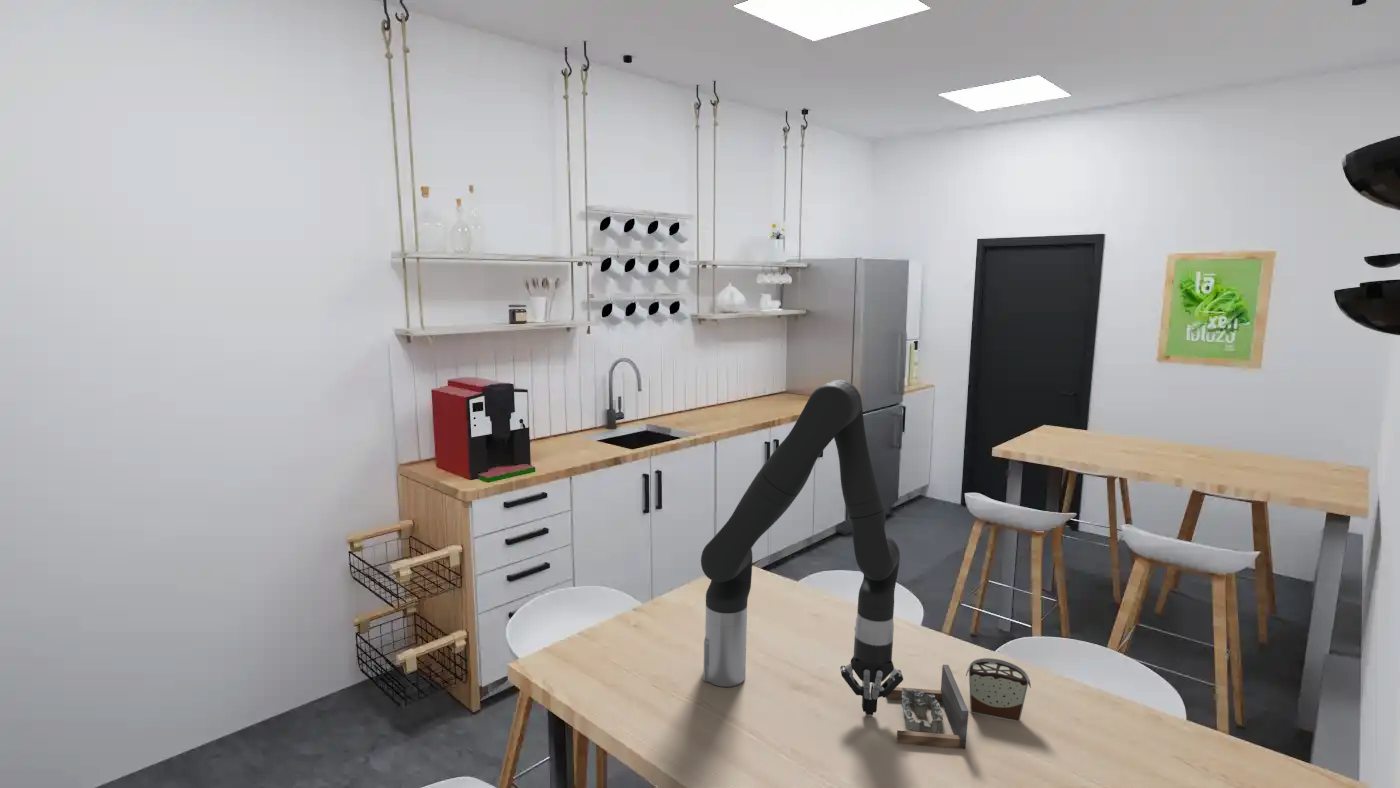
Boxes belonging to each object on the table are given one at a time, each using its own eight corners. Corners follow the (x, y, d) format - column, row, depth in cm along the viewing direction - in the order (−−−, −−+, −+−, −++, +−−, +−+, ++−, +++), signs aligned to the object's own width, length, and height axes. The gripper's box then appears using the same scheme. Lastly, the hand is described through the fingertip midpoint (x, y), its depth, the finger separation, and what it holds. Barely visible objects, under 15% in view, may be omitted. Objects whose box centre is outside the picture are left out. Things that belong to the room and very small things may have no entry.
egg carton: (943, 737, 140) (944, 719, 139) (903, 732, 142) (904, 713, 141) (936, 706, 150) (938, 688, 150) (900, 701, 152) (901, 683, 151)
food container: (1024, 706, 150) (1028, 663, 149) (1027, 723, 144) (1031, 678, 143) (962, 695, 154) (965, 652, 152) (962, 711, 148) (966, 666, 147)
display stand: (897, 743, 138) (900, 705, 136) (885, 694, 154) (887, 660, 152) (965, 749, 136) (968, 711, 135) (945, 699, 152) (948, 664, 151)
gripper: (842, 641, 140) (837, 721, 143) (910, 646, 139) (905, 726, 142) (839, 623, 148) (834, 699, 151) (904, 627, 146) (898, 704, 149)
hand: (869, 712), depth 146 cm, fingers closed
